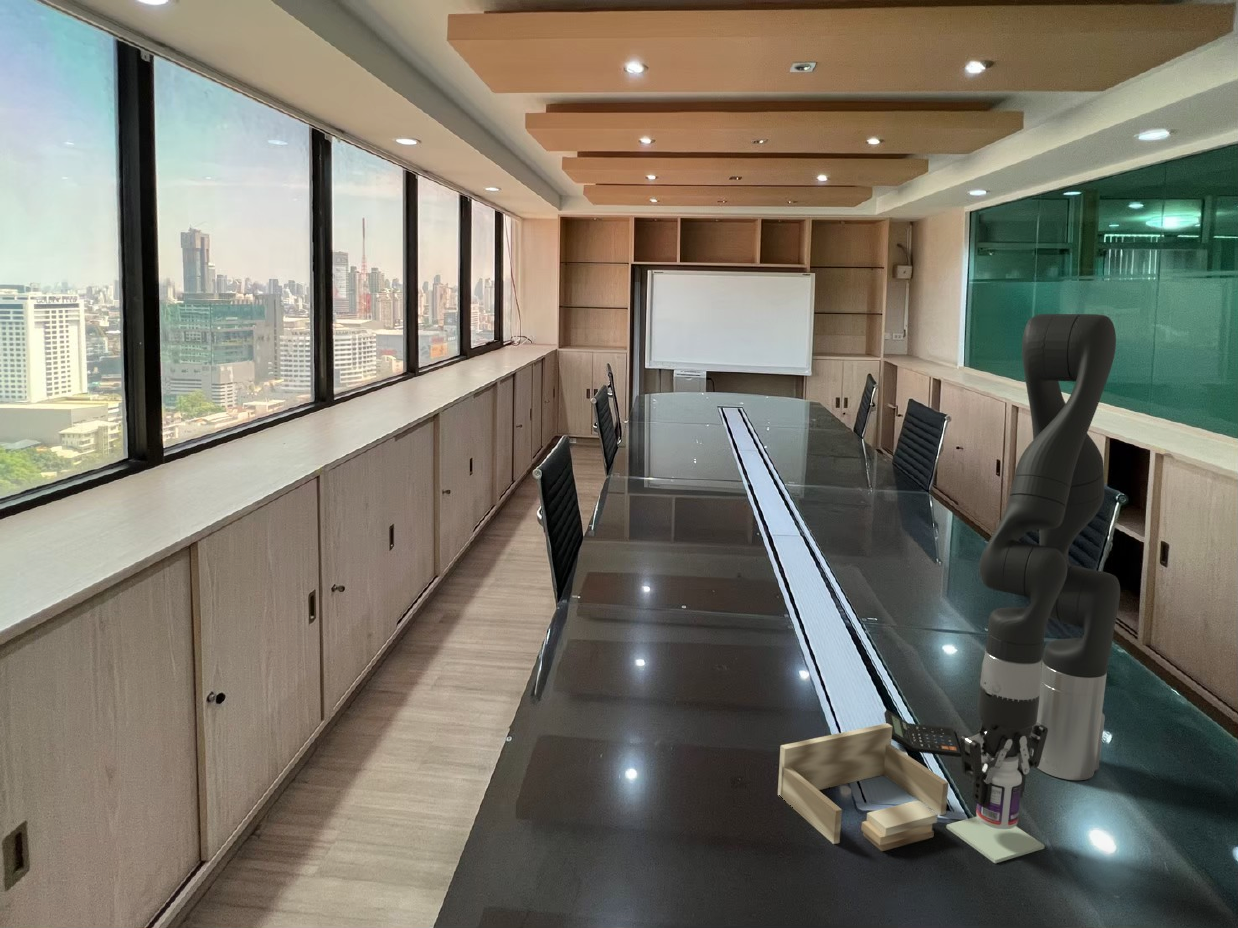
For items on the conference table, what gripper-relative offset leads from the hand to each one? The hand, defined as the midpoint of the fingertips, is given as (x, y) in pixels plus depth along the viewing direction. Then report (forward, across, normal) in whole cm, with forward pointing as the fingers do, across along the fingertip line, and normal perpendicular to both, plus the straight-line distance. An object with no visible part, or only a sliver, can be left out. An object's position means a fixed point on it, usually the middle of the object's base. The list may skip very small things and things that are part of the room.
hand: (997, 799), depth 128 cm
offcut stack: (+6, +12, -6) cm, 15 cm away
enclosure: (+6, +12, -14) cm, 19 cm away
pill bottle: (+3, 0, 0) cm, 3 cm away
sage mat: (+6, 0, 0) cm, 6 cm away
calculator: (+6, -11, -27) cm, 30 cm away
